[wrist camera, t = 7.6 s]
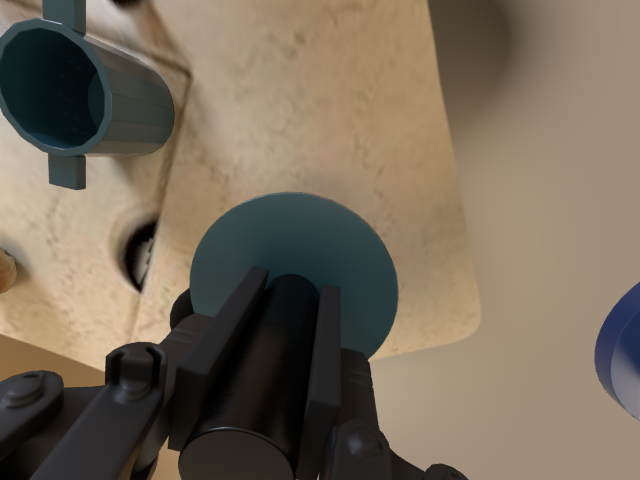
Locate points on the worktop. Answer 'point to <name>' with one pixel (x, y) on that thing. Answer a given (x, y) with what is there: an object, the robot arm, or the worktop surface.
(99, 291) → the worktop surface
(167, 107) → the pot
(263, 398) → the lid
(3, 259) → the onion
